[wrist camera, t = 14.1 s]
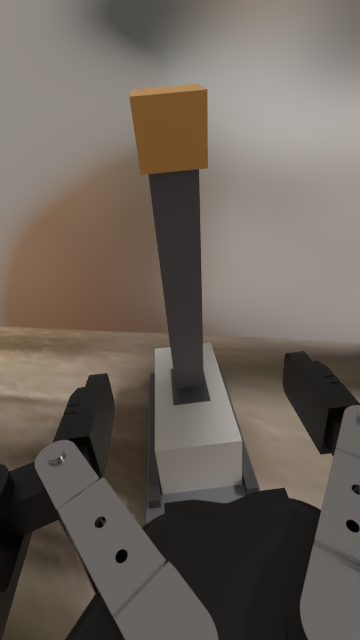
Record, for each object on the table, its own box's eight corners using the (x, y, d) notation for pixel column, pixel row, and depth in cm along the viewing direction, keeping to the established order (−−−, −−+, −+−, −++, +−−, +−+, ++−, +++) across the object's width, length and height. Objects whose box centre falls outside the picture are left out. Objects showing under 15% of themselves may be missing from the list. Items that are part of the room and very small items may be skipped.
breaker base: (265, 515, 23) (269, 460, 20) (147, 530, 23) (134, 477, 20) (219, 372, 39) (218, 331, 36) (150, 380, 39) (143, 339, 36)
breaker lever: (208, 389, 26) (207, 89, 12) (172, 393, 26) (129, 96, 12) (203, 363, 29) (197, 83, 15) (169, 367, 29) (131, 89, 14)
